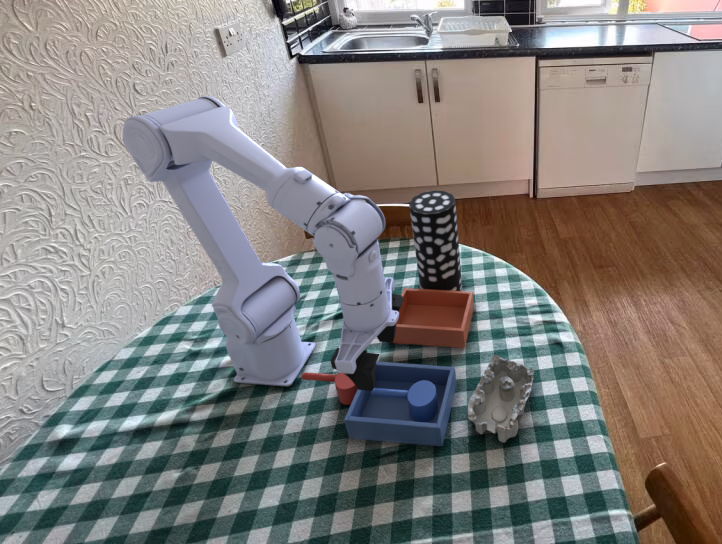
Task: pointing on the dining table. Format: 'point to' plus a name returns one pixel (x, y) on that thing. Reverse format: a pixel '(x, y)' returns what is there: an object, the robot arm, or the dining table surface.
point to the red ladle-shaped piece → (336, 384)
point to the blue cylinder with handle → (415, 399)
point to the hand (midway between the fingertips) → (377, 362)
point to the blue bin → (401, 406)
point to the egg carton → (500, 397)
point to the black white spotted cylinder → (436, 240)
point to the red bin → (434, 317)
